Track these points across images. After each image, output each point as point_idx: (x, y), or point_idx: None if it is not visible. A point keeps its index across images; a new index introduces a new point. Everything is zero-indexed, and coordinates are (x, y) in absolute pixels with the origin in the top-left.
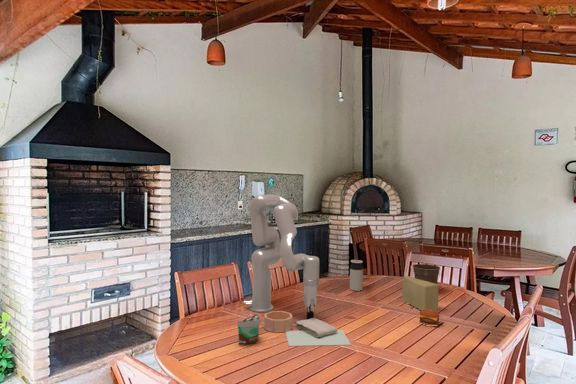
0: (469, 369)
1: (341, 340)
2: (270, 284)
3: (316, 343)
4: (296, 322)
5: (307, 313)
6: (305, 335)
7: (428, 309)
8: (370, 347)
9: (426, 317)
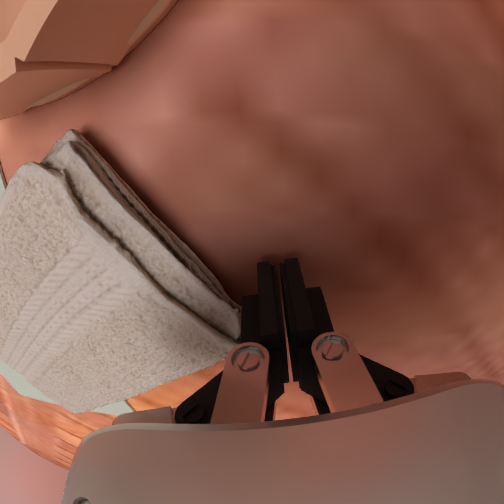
0: (65, 468)
1: (26, 383)
2: None
3: None
4: (58, 151)
5: (260, 323)
6: None
7: None
8: (43, 422)
9: None
